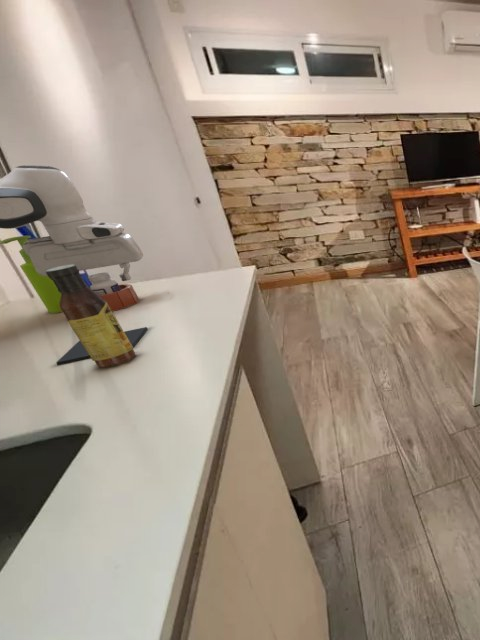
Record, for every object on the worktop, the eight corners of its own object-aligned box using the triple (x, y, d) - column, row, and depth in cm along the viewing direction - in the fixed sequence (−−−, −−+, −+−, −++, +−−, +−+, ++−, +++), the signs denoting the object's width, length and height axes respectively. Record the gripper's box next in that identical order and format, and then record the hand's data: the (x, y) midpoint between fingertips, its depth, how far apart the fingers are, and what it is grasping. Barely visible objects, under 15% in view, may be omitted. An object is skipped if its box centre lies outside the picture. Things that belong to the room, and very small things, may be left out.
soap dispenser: (39, 314, 126) (-9, 240, 117) (70, 304, 132) (27, 233, 123) (54, 315, 124) (7, 240, 116) (85, 305, 130) (42, 233, 122)
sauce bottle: (142, 357, 97) (89, 264, 88) (103, 371, 92) (43, 274, 83) (130, 351, 100) (78, 260, 91) (91, 365, 95) (32, 270, 86)
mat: (57, 365, 96) (55, 362, 96) (80, 343, 106) (78, 340, 106) (132, 348, 101) (131, 346, 101) (147, 329, 111) (146, 326, 110)
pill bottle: (124, 301, 131) (107, 270, 127) (131, 303, 128) (114, 272, 125) (99, 308, 127) (81, 276, 123) (106, 311, 124) (88, 279, 121)
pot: (85, 316, 122) (75, 300, 120) (99, 304, 130) (90, 289, 128) (132, 307, 126) (124, 291, 124) (143, 296, 134) (135, 281, 132)
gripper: (11, 243, 112) (46, 297, 118) (121, 227, 120) (148, 278, 127) (24, 238, 117) (57, 290, 123) (129, 223, 125) (155, 272, 132)
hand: (104, 284), depth 125 cm, fingers open, 8 cm apart
